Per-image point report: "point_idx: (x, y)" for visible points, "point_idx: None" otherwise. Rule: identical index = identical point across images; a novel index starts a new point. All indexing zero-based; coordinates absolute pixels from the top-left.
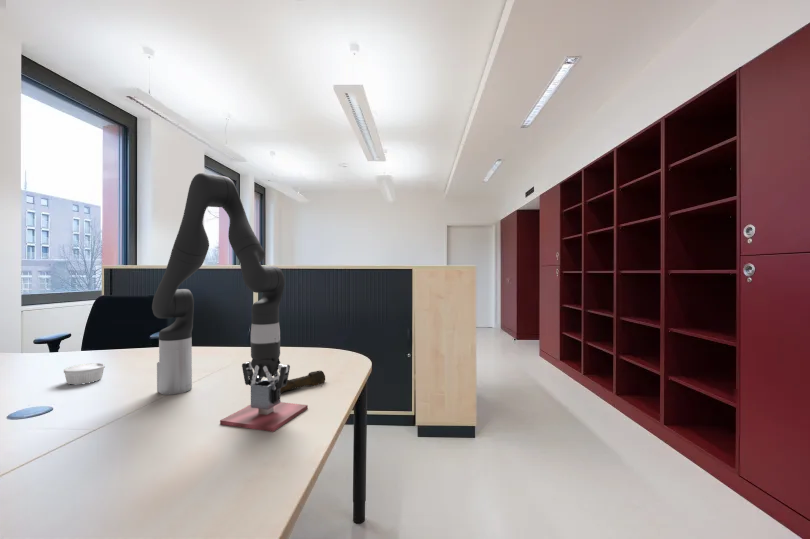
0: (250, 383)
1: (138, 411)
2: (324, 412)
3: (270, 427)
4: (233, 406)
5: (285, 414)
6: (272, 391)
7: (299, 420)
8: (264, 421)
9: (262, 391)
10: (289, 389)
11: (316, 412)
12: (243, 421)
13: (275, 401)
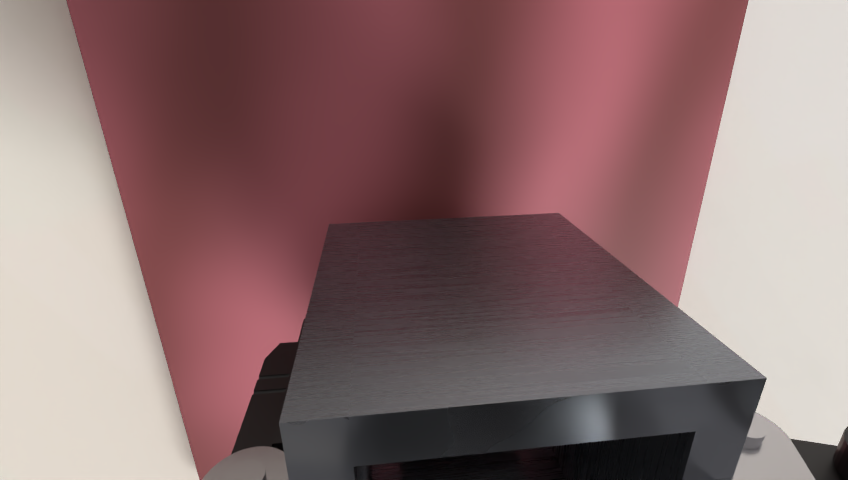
0: (820, 473)
1: None
2: (28, 472)
3: None
4: (789, 331)
5: (228, 303)
6: None
7: (82, 289)
8: (290, 95)
9: (428, 335)
10: None
11: (89, 452)
12: (502, 28)
13: (291, 343)
